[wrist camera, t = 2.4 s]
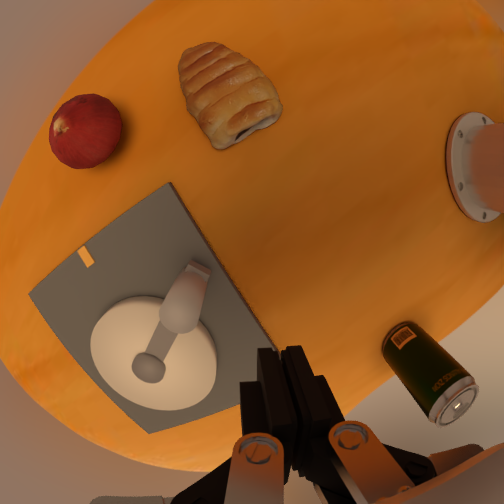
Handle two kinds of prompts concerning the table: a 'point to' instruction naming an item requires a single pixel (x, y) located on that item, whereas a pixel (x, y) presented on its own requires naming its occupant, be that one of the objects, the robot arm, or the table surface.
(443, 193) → the table surface
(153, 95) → the table surface
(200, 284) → the dial
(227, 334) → the base plate
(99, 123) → the onion
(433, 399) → the beer can
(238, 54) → the pastry
